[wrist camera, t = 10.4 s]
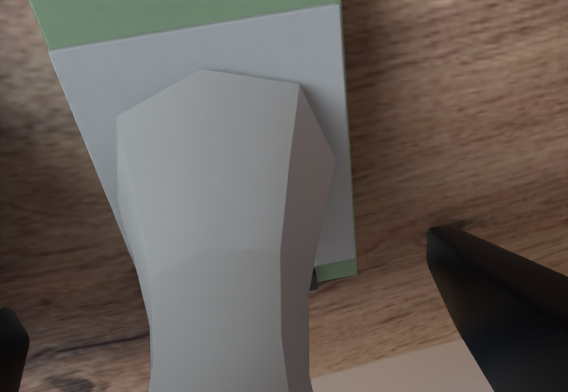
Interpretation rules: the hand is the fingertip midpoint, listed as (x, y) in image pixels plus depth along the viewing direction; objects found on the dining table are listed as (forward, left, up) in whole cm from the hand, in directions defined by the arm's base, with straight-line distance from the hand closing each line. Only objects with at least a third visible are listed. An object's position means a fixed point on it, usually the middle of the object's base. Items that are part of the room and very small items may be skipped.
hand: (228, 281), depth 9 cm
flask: (0, 0, -6) cm, 6 cm away
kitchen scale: (0, 0, -8) cm, 9 cm away
